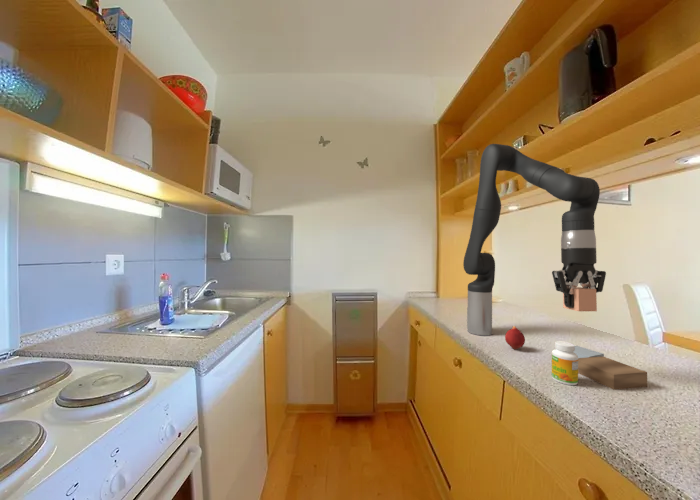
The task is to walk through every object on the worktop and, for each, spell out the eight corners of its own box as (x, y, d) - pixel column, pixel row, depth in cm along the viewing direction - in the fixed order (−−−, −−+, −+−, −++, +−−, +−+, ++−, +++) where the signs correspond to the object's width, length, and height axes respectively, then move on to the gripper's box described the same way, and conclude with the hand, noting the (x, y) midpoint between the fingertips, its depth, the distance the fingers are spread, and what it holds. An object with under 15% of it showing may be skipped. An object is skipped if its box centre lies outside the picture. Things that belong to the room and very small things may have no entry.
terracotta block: (563, 307, 76) (562, 287, 76) (580, 307, 76) (579, 287, 77) (578, 311, 71) (578, 289, 71) (596, 311, 71) (596, 289, 72)
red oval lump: (520, 346, 93) (520, 324, 93) (528, 353, 87) (528, 329, 87) (502, 345, 94) (502, 323, 94) (509, 351, 88) (509, 328, 88)
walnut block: (573, 372, 74) (573, 358, 74) (603, 370, 76) (603, 356, 76) (613, 391, 64) (613, 374, 64) (647, 388, 66) (647, 372, 66)
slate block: (562, 361, 82) (562, 348, 82) (576, 358, 84) (576, 345, 84) (588, 370, 75) (589, 356, 75) (603, 367, 78) (603, 353, 78)
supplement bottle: (546, 377, 70) (546, 341, 70) (559, 374, 72) (559, 339, 72) (569, 387, 65) (569, 348, 65) (583, 383, 67) (583, 345, 67)
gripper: (590, 247, 78) (591, 304, 78) (543, 247, 78) (544, 305, 77) (616, 246, 71) (618, 310, 70) (564, 246, 70) (566, 310, 70)
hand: (579, 307), depth 74 cm, fingers closed on terracotta block, 5 cm apart
